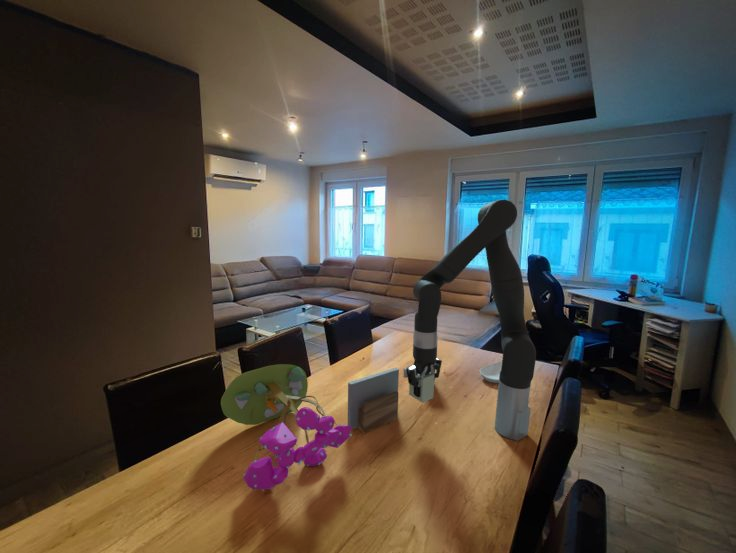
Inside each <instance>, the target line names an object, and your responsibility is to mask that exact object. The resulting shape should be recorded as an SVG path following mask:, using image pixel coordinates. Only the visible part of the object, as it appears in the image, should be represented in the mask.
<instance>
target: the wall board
mask: <svg viewBox="0 0 736 553" xmlns="http://www.w3.org/2000/svg"><path fill="white" fill-rule="evenodd" d="M399 372H400V369H399V368H398V367H394V368H391V369H387V370H385V371H381V372H377V373H375V374H370V375H367V376H365V377H361V378H359V379H355V380H351V381H348V382H347V425H348V426H351V431H352V430H355V429H356V428H358V409H360V408H362V407H363V403H365V402H368V401H370V400H373V399H376V398H379V397H381V396H384V395H387V394H390V393H392V392H395V391H397V392H398V393H399V380H400V379H399V377H400V376H399Z"/></svg>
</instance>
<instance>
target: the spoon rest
mask: <svg viewBox="0 0 736 553" xmlns="http://www.w3.org/2000/svg"><path fill="white" fill-rule="evenodd" d="M501 368H502V359H501V360H499V361H496V362H494V363H490V364H488V365H484V366H483V367H481V368H480V369H479V374H480V376H481V377H482V378H483V379H484V380H485V381H487V382H488V383H491V384H499V376H500V371H501Z"/></svg>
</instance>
